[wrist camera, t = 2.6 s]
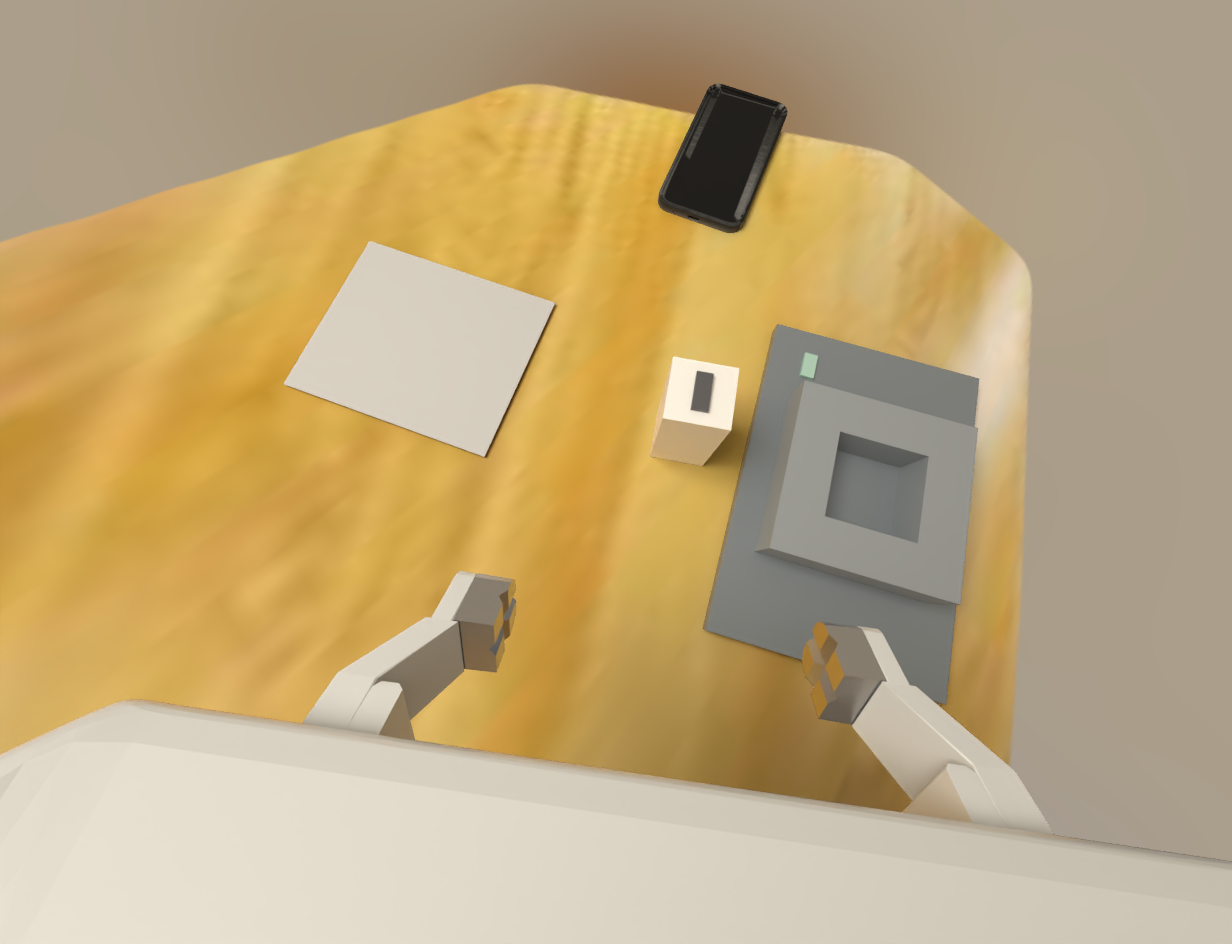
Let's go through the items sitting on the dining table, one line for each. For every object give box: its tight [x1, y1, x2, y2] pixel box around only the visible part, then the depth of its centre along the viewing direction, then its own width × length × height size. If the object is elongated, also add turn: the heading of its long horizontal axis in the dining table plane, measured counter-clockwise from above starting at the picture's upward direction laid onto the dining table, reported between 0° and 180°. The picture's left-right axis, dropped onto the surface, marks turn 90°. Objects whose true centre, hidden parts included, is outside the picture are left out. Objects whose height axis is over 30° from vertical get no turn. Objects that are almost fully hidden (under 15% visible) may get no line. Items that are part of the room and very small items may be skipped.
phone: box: [658, 84, 787, 233], centre depth 40 cm, size 8×1×15 cm
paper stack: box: [284, 241, 555, 457], centre depth 36 cm, size 23×25×1 cm
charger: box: [650, 357, 739, 466], centre depth 30 cm, size 4×4×8 cm
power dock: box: [703, 324, 979, 705], centre depth 31 cm, size 24×16×4 cm, turn 163°
